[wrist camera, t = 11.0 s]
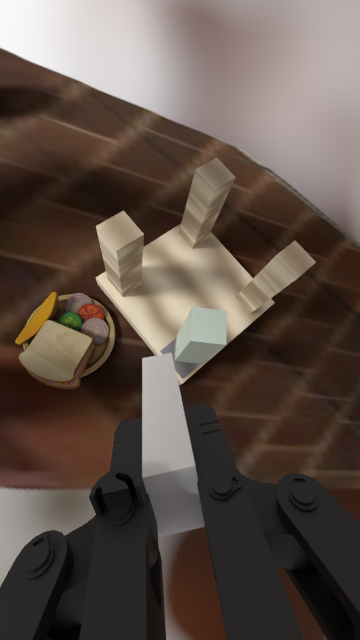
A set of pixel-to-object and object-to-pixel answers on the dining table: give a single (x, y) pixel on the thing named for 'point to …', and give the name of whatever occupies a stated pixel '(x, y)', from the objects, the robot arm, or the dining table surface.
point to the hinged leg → (200, 335)
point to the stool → (188, 271)
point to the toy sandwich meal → (66, 340)
